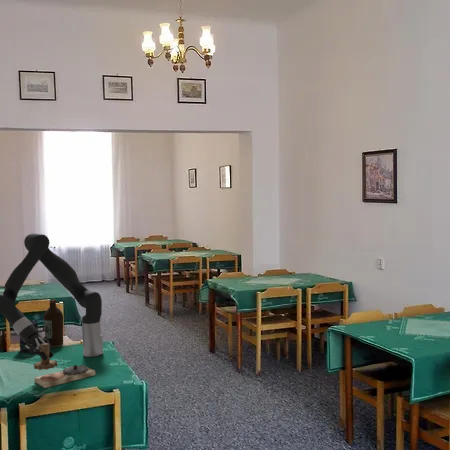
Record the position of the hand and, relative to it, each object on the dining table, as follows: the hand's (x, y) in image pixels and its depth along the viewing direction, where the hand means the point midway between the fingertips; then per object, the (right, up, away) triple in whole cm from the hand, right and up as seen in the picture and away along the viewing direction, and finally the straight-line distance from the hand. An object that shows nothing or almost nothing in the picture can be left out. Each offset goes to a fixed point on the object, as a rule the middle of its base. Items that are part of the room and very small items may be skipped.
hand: (49, 357), depth 245 cm
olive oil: (-18, -8, +64) cm, 67 cm away
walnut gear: (-2, -4, +1) cm, 5 cm away
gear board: (+6, -10, +4) cm, 13 cm away
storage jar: (-27, -9, +53) cm, 60 cm away
